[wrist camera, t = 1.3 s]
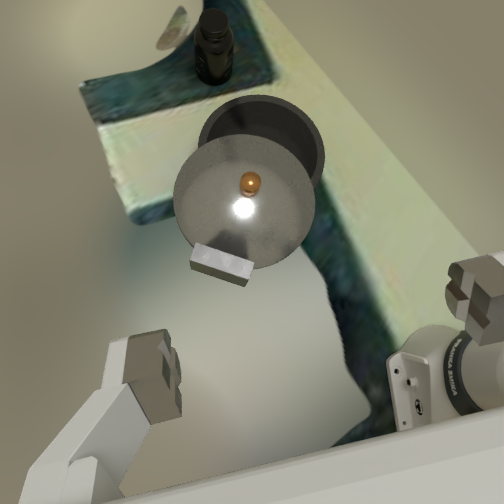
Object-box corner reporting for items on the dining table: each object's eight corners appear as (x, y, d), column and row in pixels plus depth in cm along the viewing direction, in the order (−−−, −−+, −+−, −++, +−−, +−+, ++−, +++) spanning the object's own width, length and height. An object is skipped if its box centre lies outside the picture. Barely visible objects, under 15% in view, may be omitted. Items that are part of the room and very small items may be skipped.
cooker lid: (287, 301, 58) (296, 296, 52) (147, 254, 57) (140, 243, 51) (328, 163, 64) (340, 144, 58) (201, 119, 63) (201, 96, 57)
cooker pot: (293, 244, 70) (305, 228, 61) (182, 206, 69) (179, 185, 60) (323, 145, 75) (338, 118, 66) (220, 110, 74) (222, 77, 66)
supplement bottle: (221, 50, 77) (224, -3, 66) (238, 78, 76) (243, 29, 65) (188, 62, 76) (185, 10, 64) (205, 91, 75) (205, 43, 63)
